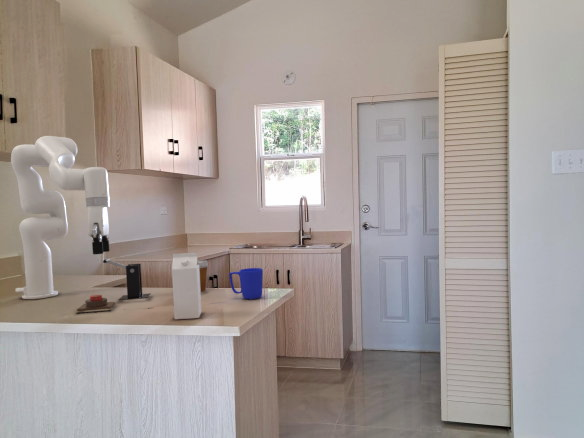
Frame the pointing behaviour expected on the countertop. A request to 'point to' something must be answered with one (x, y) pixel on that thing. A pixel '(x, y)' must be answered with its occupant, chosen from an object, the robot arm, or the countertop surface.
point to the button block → (95, 306)
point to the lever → (114, 263)
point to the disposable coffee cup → (203, 274)
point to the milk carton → (186, 286)
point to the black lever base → (134, 283)
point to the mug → (249, 282)
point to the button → (95, 297)
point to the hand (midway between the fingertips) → (101, 252)
